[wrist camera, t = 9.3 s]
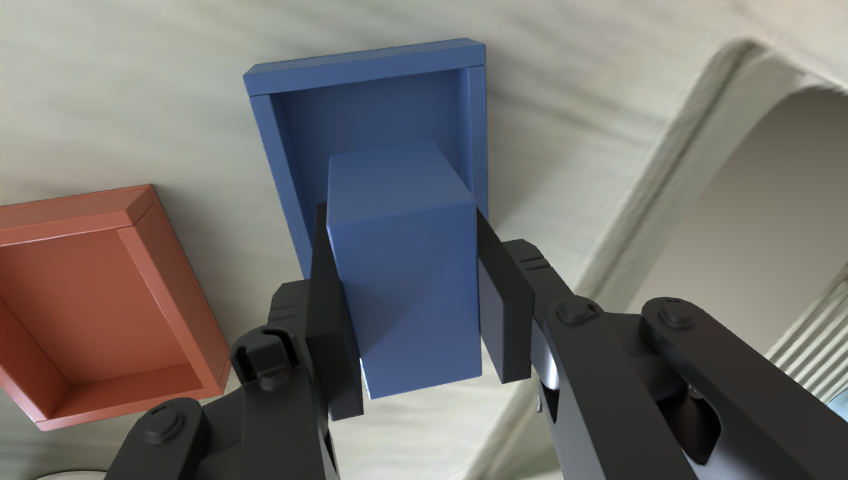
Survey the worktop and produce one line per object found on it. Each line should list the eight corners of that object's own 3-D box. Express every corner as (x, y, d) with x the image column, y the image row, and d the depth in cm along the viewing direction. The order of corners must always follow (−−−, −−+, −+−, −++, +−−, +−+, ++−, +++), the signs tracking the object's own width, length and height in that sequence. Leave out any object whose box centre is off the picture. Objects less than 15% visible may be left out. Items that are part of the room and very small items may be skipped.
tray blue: (254, 64, 16) (241, 75, 14) (467, 37, 17) (485, 43, 15) (316, 281, 21) (314, 313, 19) (475, 252, 22) (489, 279, 20)
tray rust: (-70, 216, 17) (-130, 249, 14) (151, 183, 17) (126, 209, 15) (70, 389, 22) (42, 432, 20) (234, 357, 23) (223, 394, 21)
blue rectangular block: (329, 154, 14) (324, 224, 9) (434, 138, 14) (477, 199, 10) (361, 298, 17) (369, 401, 12) (446, 282, 17) (482, 376, 13)
